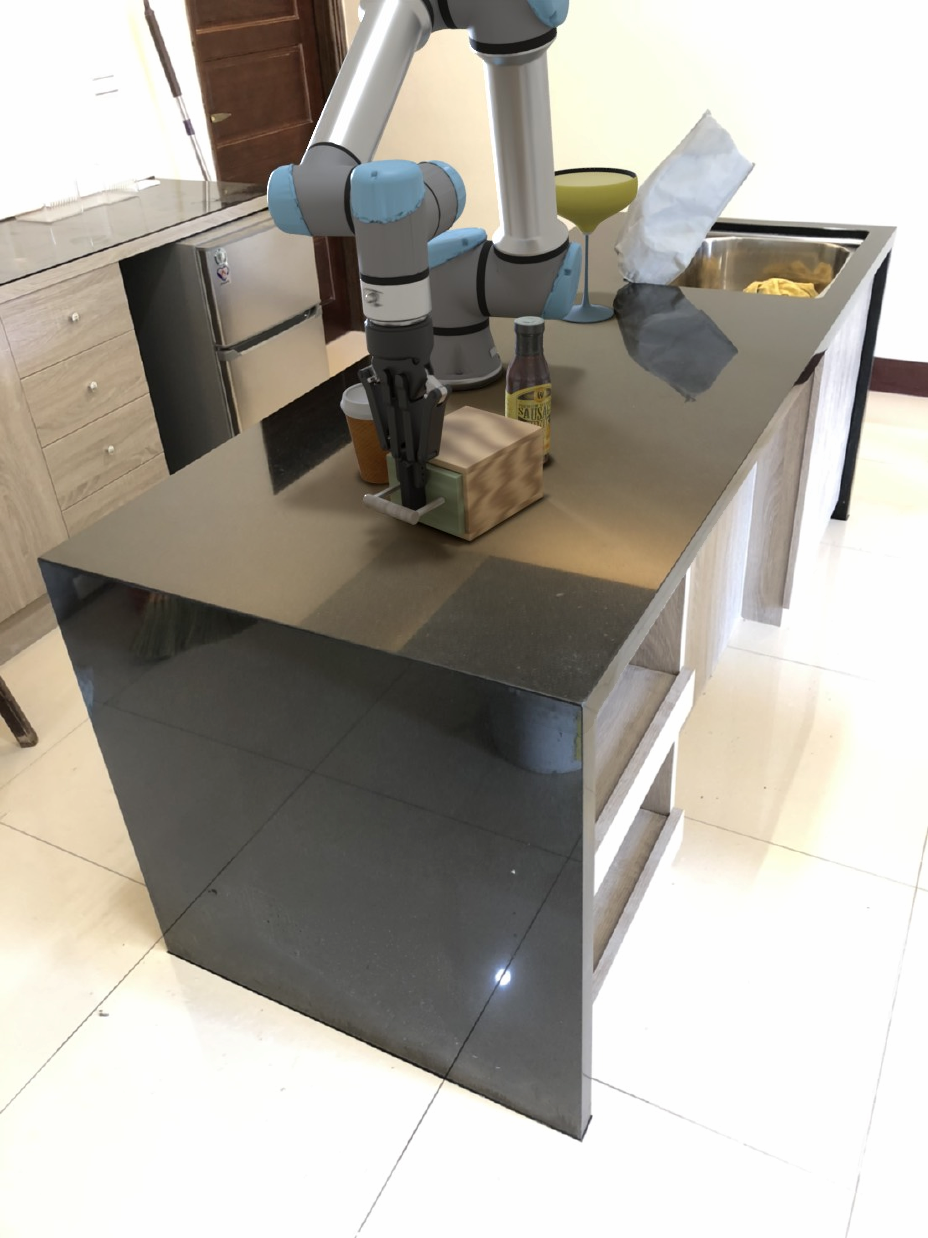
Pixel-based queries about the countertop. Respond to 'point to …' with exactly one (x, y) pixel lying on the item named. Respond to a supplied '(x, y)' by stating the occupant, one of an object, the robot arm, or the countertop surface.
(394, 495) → the drawer
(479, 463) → the cabinet
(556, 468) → the countertop surface
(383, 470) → the disposable coffee cup
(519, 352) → the sauce bottle
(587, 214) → the cocktail glass
